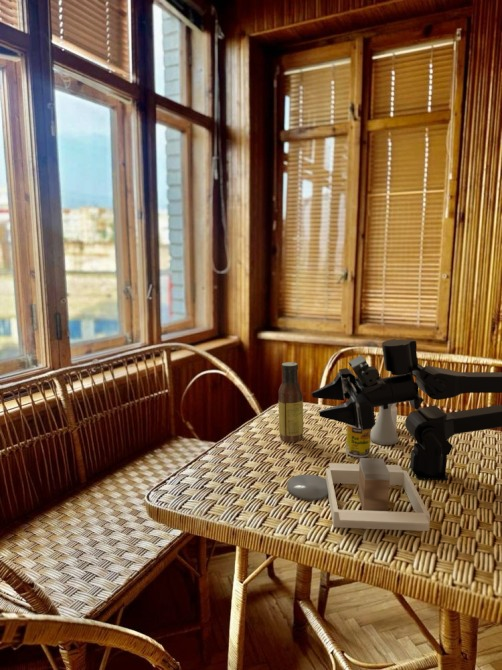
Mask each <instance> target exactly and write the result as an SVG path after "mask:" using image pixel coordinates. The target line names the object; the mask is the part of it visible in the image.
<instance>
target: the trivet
mask: <svg viewBox="0 0 502 670" xmlns="http://www.w3.org/2000/svg"><path fill="white" fill-rule="evenodd" d="M286 489H287V492H288V493H289V494H290V495H291V496H293V497H295V498H297V499H300V500H303V501H304V500H305V501H317V500H319V501H320V500H323V499H325V498H327V497H328V487H327V482H326V478H324V477H321V476H319V475H315V474H298V475H295V476H293V477H291V478H289V479H288V481H287V483H286Z"/></svg>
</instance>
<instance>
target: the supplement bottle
mask: <svg viewBox="0 0 502 670" xmlns="http://www.w3.org/2000/svg"><path fill="white" fill-rule="evenodd" d="M371 430H372V429H370V430H364V431H362V430H361V428H360V426H359V428H356V427H355V426H352V425H349V424H346V441H345V442H346V443H345V444H346V445H345V452H346V453H347V455H349V456H351V457H352V458H353V457H354V458H358V459H360V458H367V457H368V456H369V455H370V449H371V448H370V447H371V439H370V436H371Z"/></svg>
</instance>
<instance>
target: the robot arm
mask: <svg viewBox="0 0 502 670" xmlns="http://www.w3.org/2000/svg"><path fill="white" fill-rule="evenodd" d="M381 348H382V355H383V357H382V358H383V364H384V369H385V371H387V372H389V373H390V375H392V376H387V377H386V376H385V377H381V376H380V375H381V374H380V372H379V371H378V369H377V367H376V366H374V365H373V366H372V365H371V366H370V365H369V363H368V362H367V360H366V359H365V358H364V356H363V355H362V354H360V355H357V356H356V357H355V358H353V359H350V360H348V362H347V363H348V364H349V367H351V369H352V370H353V371H352V370H351V369H349V368H348V367H345V368H339V369H338V372H337V373H336V375H335V377H334V379H333V381H331V382H330V383H328V384H326V385H323V386H322V387H320V388H318V389H317V390H314V391H312V392H311V396H312V398H314V399H321V400H323V399H324V400H333V401H335V400H336V401H345V399H346V401H345V403H341V404H338V405H335V406H332V407H331V406H330V407H327V408H324V409H322V410H319V411H318V414H319V417H321V418H324V419H327V420H332V421H336V422H339V423H343V424H346V425H347V424H349V425H352V426H355V427H356V428H359V426H360V428H361V430H362V431H364V430H370V429H371V430H372V428H373V427H374V425H375V422H376V418H375V410H374V408H380V406H382V408H383V409H388V405H390V404H395V403H396V404H400V403H406V402H409V405H410V406H411V407H412V408H413V409H414V410H412V411H410V412H409V414H408V415H407V416H406V418H405V419H404V420H405V421H404V426H405V430H406V431H407V432H408V433H409V434H410V435H411V436H412V439H413V441H416V442H414V443H413V449H411V450H410V461H409V462H410V463H409V468H410V469H411V471H412V473H414V475H415V477H416V478H417V480H435V481H436V480H437V481H448V480H449V477H448V475H447V474H446V472H447V460H448V456H449V455H450V453H451V452H452V449H453V444H451V442H449V439H451V438H452V437H453V436H454V435H460V434H465V433H466V434H467V433H472V432H477V431H485V430H491V429H498V428H502V404H497V405H491V406H484V407H476V408H470V409H465V410H458V411H452V412H445V411H443V410H442V409H441V408H440V407H438V406H437V405H435V404H434V405H429V406H425V407H421V405H422V403H423V402H424V401H425V400H424V398H423V397H422V396H420V392H419V390H420V391H422V392H423V394H425V395H427V397H429V398H430V399H432V400H437V401H440V400H447V399H452V398H455V397H458V396H459V395H463V394H502V371H501V372H500V371H489V372H488V371H487V372H486V371H482V372H481V371H474V372H472V371H469V372H468V371H465V372H463V371H462V372H461V371H455V370H451V369H447V368H444V367H439V366H434V365H433V366H432V365H427V366H423V365H422V364H420V363H418V361H419V360H418V355H417V341H416V340H415V339H412V338H411V339H404V338H403V339H402V338H401V339H397V338H396V339H395V338H393V339H392V338H391V339H387V340H385V341H383V342H381ZM353 372H354V373H353ZM414 378H415V380H414Z"/></svg>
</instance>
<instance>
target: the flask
mask: <svg viewBox="0 0 502 670" xmlns="http://www.w3.org/2000/svg"><path fill="white" fill-rule="evenodd" d="M391 406H392V404H390V405H388V409H383V408H382V406H379V408H378V409H379V410H378V413H377V418H376V419H375V425H374V427H373V428H372V429H371V436H370V442H373V443H375V444H377V445H381V446H386V445H387V446H388V445H391V446H392V445H395V444H397V443H399V442H400V439H399V436H398V433H397V429H396V430H395V427H394V424H393V420H392V416H391Z"/></svg>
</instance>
